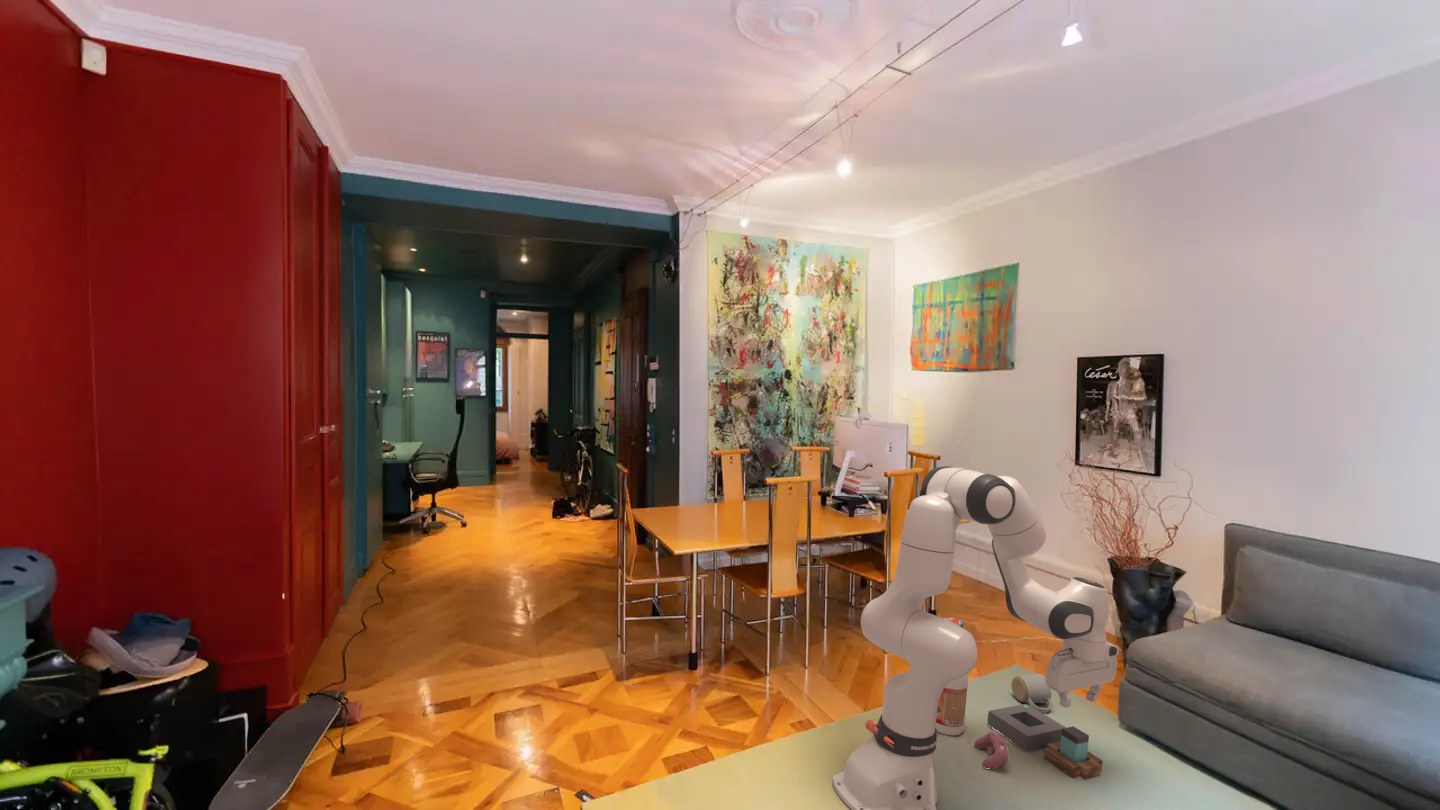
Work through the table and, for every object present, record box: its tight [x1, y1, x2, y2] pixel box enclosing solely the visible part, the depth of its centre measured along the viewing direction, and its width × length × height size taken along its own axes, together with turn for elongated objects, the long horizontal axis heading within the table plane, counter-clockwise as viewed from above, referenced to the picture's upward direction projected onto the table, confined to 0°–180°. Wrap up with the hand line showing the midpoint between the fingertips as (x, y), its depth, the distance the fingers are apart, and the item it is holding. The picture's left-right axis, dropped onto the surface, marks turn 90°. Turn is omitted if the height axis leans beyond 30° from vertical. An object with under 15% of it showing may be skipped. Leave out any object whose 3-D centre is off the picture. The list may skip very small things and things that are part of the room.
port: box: [986, 703, 1067, 753], centre depth 154 cm, size 14×12×4 cm
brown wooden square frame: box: [1043, 741, 1103, 781], centre depth 142 cm, size 10×10×2 cm
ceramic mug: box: [1011, 673, 1052, 714], centre depth 171 cm, size 11×8×8 cm
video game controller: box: [973, 730, 1010, 770], centre depth 142 cm, size 10×5×7 cm
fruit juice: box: [935, 616, 969, 736], centre depth 155 cm, size 9×9×28 cm
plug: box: [1060, 726, 1090, 763], centre depth 142 cm, size 4×4×8 cm
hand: (1078, 703), depth 142 cm, fingers open, 8 cm apart
